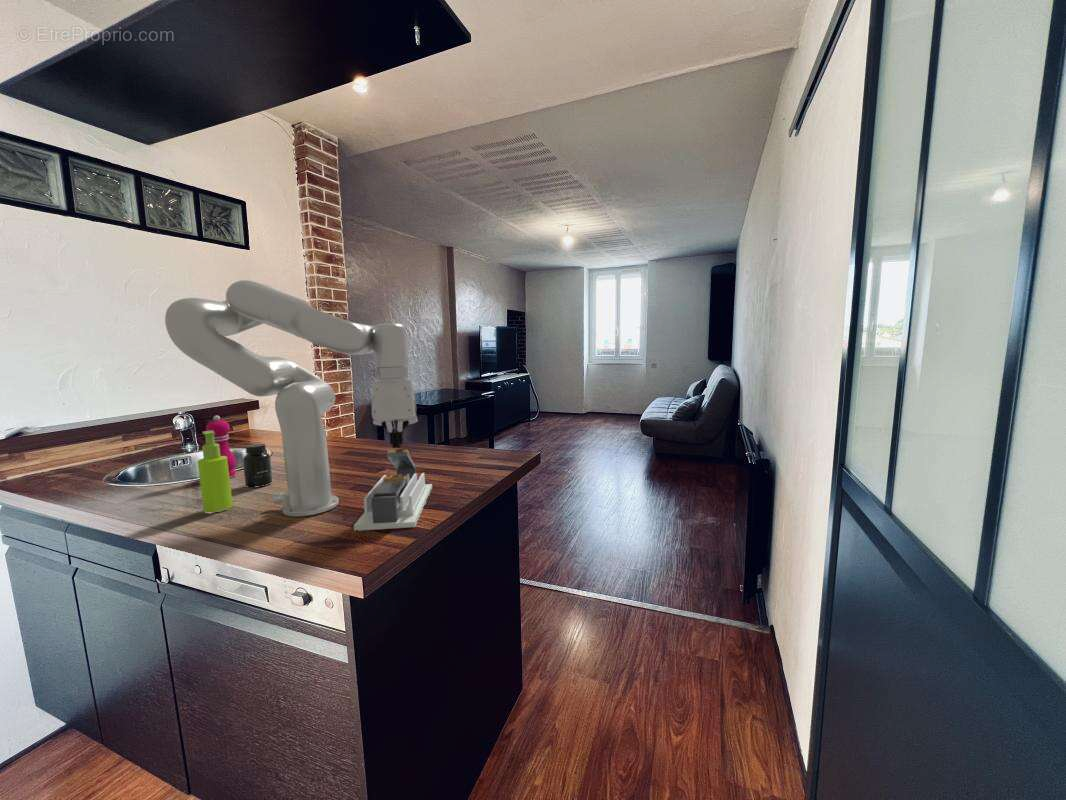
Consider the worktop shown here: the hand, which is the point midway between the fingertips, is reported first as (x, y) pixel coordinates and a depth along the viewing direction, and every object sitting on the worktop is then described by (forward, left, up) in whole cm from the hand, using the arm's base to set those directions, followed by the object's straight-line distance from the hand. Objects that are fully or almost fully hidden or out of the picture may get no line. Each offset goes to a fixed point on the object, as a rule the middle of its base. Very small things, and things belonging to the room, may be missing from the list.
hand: (397, 446), depth 107 cm
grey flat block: (0, -9, -8) cm, 12 cm away
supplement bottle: (-46, +22, -15) cm, 53 cm away
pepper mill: (-62, +32, -15) cm, 71 cm away
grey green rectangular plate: (0, +3, -5) cm, 6 cm away
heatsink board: (0, -3, -15) cm, 15 cm away
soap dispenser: (-46, +3, -15) cm, 48 cm away
